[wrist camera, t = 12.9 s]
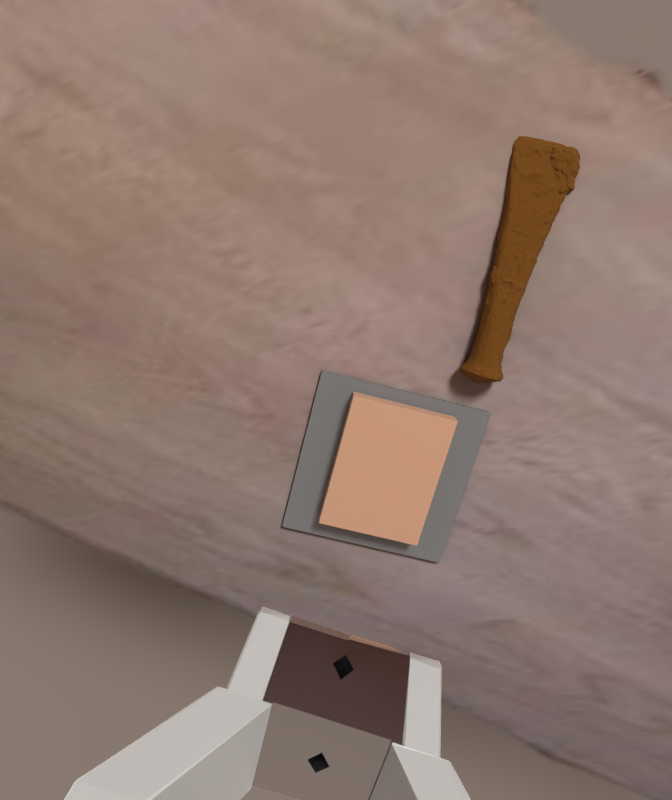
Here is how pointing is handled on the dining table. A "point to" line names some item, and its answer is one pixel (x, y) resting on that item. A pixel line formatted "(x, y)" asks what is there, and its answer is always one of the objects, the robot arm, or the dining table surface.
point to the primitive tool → (520, 243)
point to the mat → (323, 450)
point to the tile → (386, 468)
